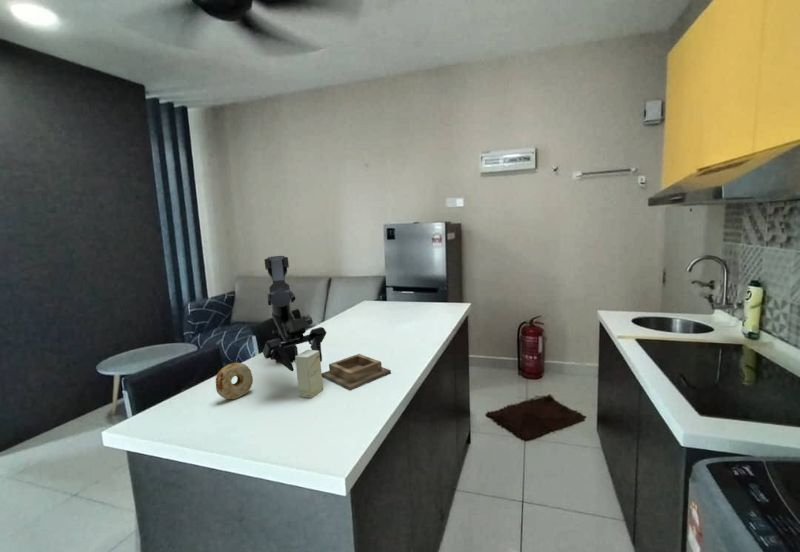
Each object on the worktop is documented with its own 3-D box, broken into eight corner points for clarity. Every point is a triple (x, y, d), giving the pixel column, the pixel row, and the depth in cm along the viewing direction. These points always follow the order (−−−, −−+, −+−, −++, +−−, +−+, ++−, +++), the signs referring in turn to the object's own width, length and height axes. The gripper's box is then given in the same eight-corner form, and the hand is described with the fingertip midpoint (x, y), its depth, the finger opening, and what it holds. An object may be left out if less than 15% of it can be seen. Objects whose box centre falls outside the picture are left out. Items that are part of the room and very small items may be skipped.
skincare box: (311, 398, 108) (307, 357, 106) (298, 396, 110) (294, 356, 108) (323, 389, 114) (320, 350, 112) (311, 387, 116) (307, 349, 114)
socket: (321, 376, 124) (320, 364, 123) (361, 361, 134) (360, 351, 134) (349, 390, 112) (348, 377, 111) (390, 373, 122) (390, 361, 122)
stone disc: (222, 405, 108) (217, 371, 106) (216, 402, 110) (211, 369, 109) (256, 391, 115) (252, 360, 114) (250, 388, 118) (246, 357, 116)
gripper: (262, 314, 107) (284, 360, 100) (320, 301, 119) (343, 342, 112) (254, 336, 113) (274, 381, 107) (310, 322, 126) (331, 361, 119)
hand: (307, 365), depth 111 cm, fingers open, 9 cm apart
